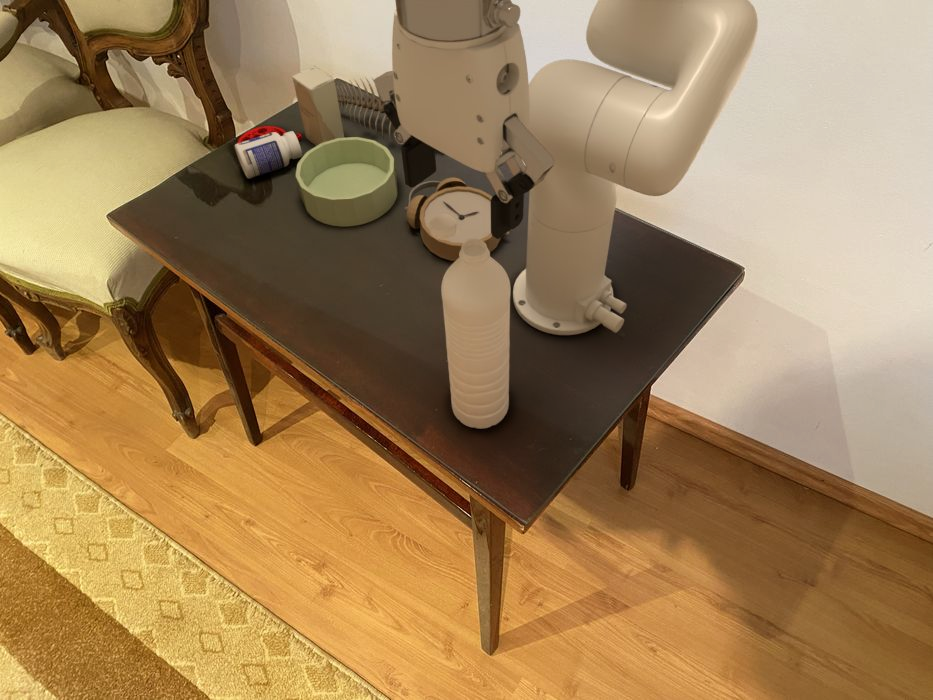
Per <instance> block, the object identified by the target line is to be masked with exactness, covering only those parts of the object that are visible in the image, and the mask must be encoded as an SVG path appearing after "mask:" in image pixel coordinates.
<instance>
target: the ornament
mask: <svg viewBox="0 0 933 700" xmlns="http://www.w3.org/2000/svg"><path fill="white" fill-rule="evenodd" d="M273 132H276V133H278V134H279V135H280V136H283V135H284V133H287V132H286V130H284V128H281V127H278V126H272V125H266V126H265V125H264V126H259V127H255V128H253V129H249V130H248V131H246V132H245V133H243V134H242V135H241V136H240V137H239V138H238V141H237V143H240V142H244V141H247V140H250V139H253V138H256V137H260V136H263V135H266V134H269V133H273ZM295 135H296V137H297V139H298V141H301V140H302V139H303V137H302V134H301V133H297V132H296V133H295Z"/></svg>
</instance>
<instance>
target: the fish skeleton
mask: <svg viewBox="0 0 933 700" xmlns="http://www.w3.org/2000/svg"><path fill="white" fill-rule="evenodd" d="M353 80H354V82H355V84H356V86H357V89H358V91H357V89H356V87H355V85H354V84H353V82H352V81H351V80H349V82H350V84H351V86H352V88H351V87H350V85H349V83H348V82H347V80H344V83H346V85H347V88H348V90H349V92H348V90H347V88H346V86H345V85H344V84H342V85H339V86H338V85H337V84H335V87H336V93H337V98H338V104H339V109H341V106H342V110H341V112H343V111H344V108H345V115H346V117H348V115H347V109H348V107H349V105H350V107H349V119H350V120H352V117H351V115H352V114H351V112H352V109H353V107H354V110H353V119H354V122H355V124H357V123H356V111H357V110H358V109H359V111H358V116H357V117H358V123H359V126H360V127H362V126H361V113H364V114H363V125H364V129H365V130H366V116H367V113H370V115H369V119H368V125H369V131H370V132H372V129H371V121H372V117H373V115H374V114H376V112H377V115H376V118H375V123H374V125H375V128H374V129H375V133H376V134H378V131H377V129H378V127H377V126H378V121H379V117H380V118H382V121H381V133H382V139H383V140H384V138H385V137H384V125H385V121H386V120H387V121H388V120H389V118H388V117H387V115H386V114H385V111H384V106H385V103H384V102H382V99H381V97H380V95H379V93H378V90H377V88H376V87H375V89H376V92H377V94H378V100H377V97H376V94H375V91H374V89H373V87H372V85H371V82H369V79H368V78H367V77H366V76H365V80H366V82H367V83H368V86H369V89H370V93H371V96H372V98H371V96H370V93H369V91H368V88H367V87H366V85H365V82H364V81H363V80H362V79H360V81H361V83H362V85H363V88H364V92H365V95H366V97H365V96H364V93H363V92H362V90H361V89H362V88H361V86H360V85H359V83H358V82H357V80H356V79H354V78H353ZM371 80H372V81H373V82H374V80H375V78H373V77H371ZM342 86H343V87H342ZM339 87H340V88H339ZM343 88H344V89H343ZM337 89H338V90H337ZM340 89H341V90H340ZM352 89H353V91H354V94H353V91H352ZM344 90H345V91H344ZM358 92H359V94H358ZM349 93H350V94H349ZM359 95H360V96H359ZM350 96H351V97H350ZM344 106H345V107H344ZM359 107H360V108H359ZM364 109H365V111H363V110H364ZM369 110H371V112H370V111H369ZM382 114H384V115H383V117H382V116H381V115H382ZM391 128H392V123H391V121H390V120H389V125H388V137H389V141H390V142H392V139H391ZM396 142H397V141H396ZM397 146H398V147H399V146H400V144H399V143H398V142H397Z"/></svg>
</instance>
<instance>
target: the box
mask: <svg viewBox="0 0 933 700" xmlns="http://www.w3.org/2000/svg"><path fill="white" fill-rule="evenodd" d="M291 77H292V82H293V86H294V90H295V95H296V99H297V104H298V108H299V113H300V116H301V121H302V122H301V123H302V127H303V130H304V134H305V138H306V140H308V141H309V142H310V143H312V144H313V145H314V146H315V147H316V146H317V145H319V144H321V143H324V142H327V141H330V140H334V139H337V138H346V137H345V133H344V127H343V126H344V125H343V122H342V121H343V120H342V115H341V110H340V109H341V108H340V103H339V101H338V98H337V92H336V90H337V86H336V82H335V77H333V76H332V75H330V74H329V73H327V72H326V71H324V70H322V69H321V68H320V67H318V66H316V65H312V66H309V67H308V68H306V69H304V70H302V71H300V72H297V73H296V74H293V75H292V76H291ZM339 108H340V109H339Z"/></svg>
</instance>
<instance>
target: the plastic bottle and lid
mask: <svg viewBox="0 0 933 700" xmlns="http://www.w3.org/2000/svg"><path fill="white" fill-rule="evenodd" d="M429 229H430V234H431V235H432V236H433V237H434V238H436V239H441V240H444V239H449V238H451V237H453V236H454V235H455V234H456V231H457V226H456V220H455V218H454V217H452V216H451V215H448V214H439V215H436V216H434V217H433V218H432V219H431V220H430V222H429ZM437 236H438V237H437ZM447 236H448V237H447ZM440 288H441V289H440V291H441V292H440V293H441V300H442V310H443V322H444V332H445V347H446V354H447V355H446V357H447V364H448V365H447V369H448V379H449V388H450V389H449V391H450V401H451V409H452V413H453V415H454V416H455V418H456V419H457V420H458V421H459V422H460V423H461V424H463V425H464V426H466V427H469V428H474V429H480V430H481V429H488V428H491V427H492V426H496V425H498V424H499V423H500V422H501V421H502V420H503V419H504V418H505V416H506V415H507V414H508V410H509V405H510V395H509V394H510V393H509V392H510V347H511V346H510V345H511V344H510V332H511V331H510V328H511V325H510V321H511V320H510V319H511V293H512V292H511V281H510V278H509V275H508V273H507V271H506V270H505V268H504V267H503V266H502V265H501V264H500V263H499V262H498V261H497V260H496V259H495V258H493V257H491V252H489V250H488V248H487V245H486V243H485V242H484V241H482V240H480V239H470V240H467V241H465V242H464V243H463V245H462V247H461V250H460V252H459V258H458V259H457V260H456V261H453V262H452V263H451V264H450V266H448V267H447V269H446V271H445V273H444V275H443V278H442V281H441V286H440Z"/></svg>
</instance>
